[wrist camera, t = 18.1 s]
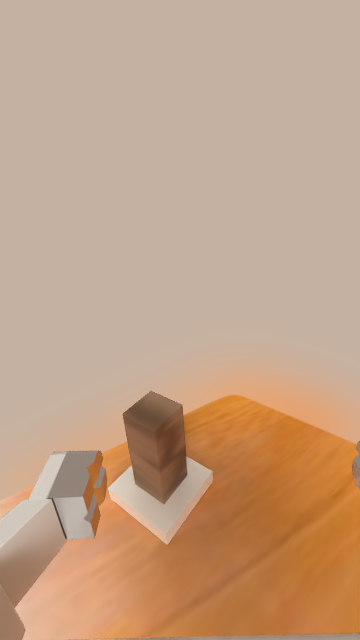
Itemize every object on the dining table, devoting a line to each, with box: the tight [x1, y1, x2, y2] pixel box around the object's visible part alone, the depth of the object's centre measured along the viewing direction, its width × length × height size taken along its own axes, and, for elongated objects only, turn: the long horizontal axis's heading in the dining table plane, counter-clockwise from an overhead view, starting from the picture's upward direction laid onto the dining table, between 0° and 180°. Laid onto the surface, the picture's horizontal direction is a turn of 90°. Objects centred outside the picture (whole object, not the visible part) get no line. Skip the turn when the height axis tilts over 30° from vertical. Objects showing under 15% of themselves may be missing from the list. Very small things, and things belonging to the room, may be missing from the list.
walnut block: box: [123, 391, 187, 504], centre depth 38 cm, size 5×5×12 cm
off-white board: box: [108, 456, 213, 545], centre depth 41 cm, size 10×10×2 cm
